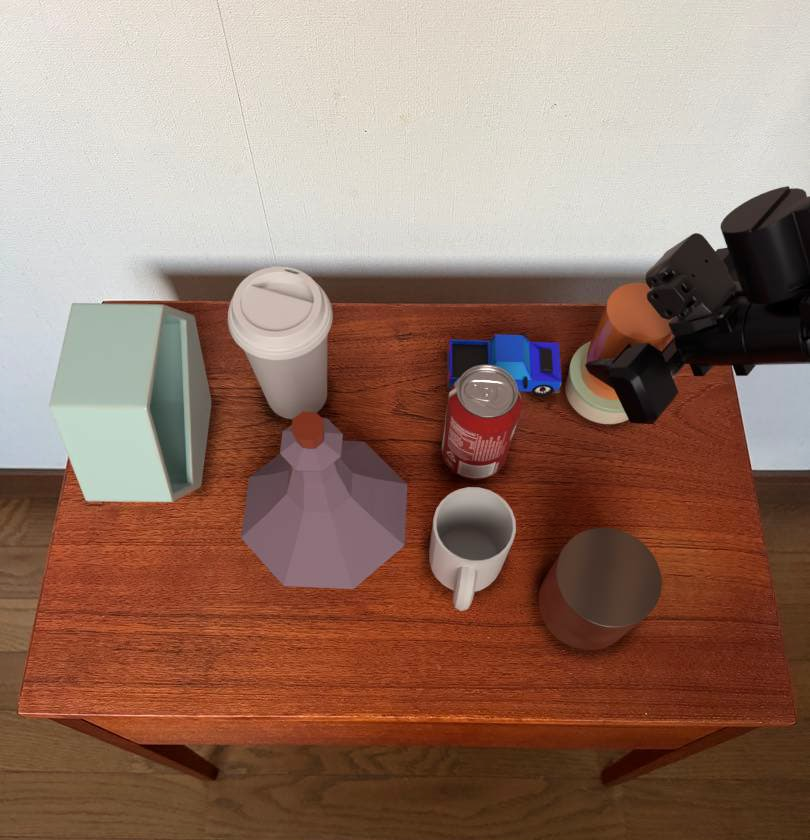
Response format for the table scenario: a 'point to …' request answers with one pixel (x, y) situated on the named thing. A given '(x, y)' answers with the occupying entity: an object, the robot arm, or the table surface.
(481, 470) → the soda can
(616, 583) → the metal cylinder
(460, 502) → the cup
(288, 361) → the coffee cup
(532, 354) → the toy car
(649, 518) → the table surface
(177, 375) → the planter
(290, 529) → the flask
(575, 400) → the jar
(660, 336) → the orange cylinder
